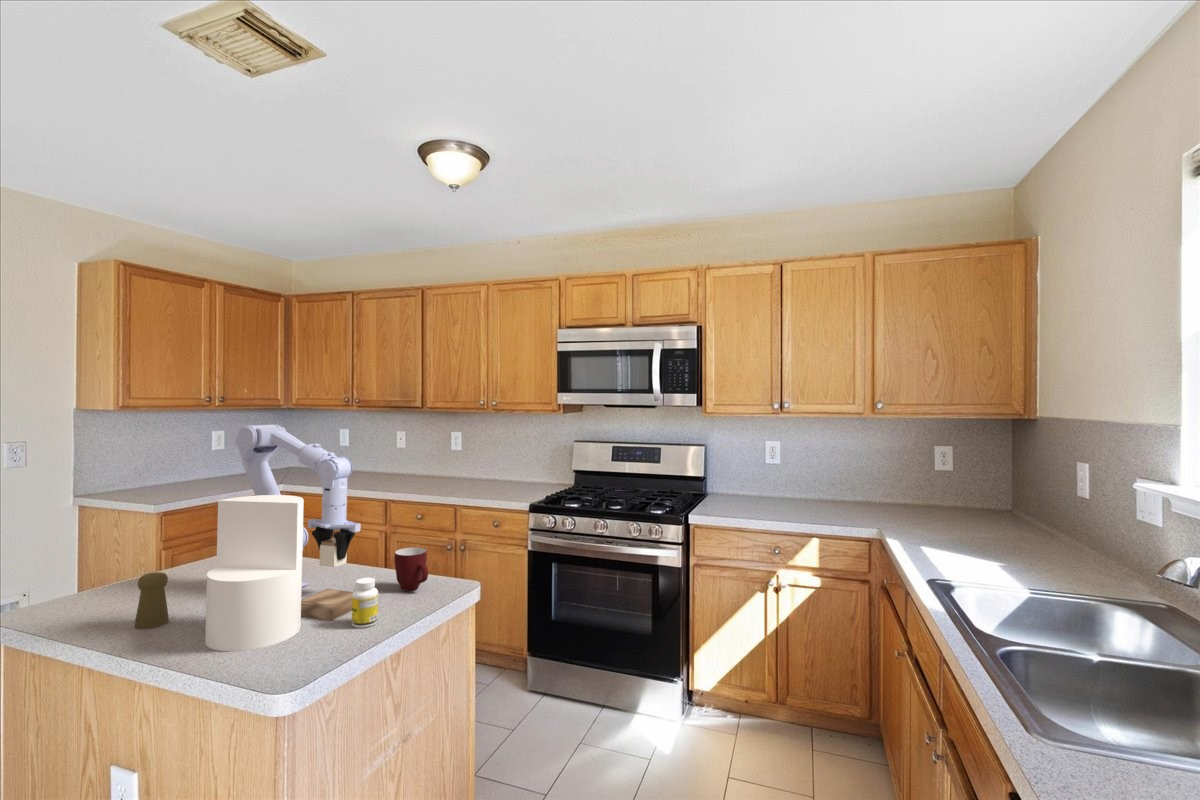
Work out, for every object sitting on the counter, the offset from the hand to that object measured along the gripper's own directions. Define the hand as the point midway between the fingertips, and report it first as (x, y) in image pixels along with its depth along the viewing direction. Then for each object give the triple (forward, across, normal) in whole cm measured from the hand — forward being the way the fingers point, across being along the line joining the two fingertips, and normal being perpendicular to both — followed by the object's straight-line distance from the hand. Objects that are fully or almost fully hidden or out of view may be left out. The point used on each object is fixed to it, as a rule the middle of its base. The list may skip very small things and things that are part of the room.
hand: (333, 557), depth 145 cm
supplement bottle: (+10, +20, -13) cm, 26 cm away
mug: (+10, +17, +10) cm, 22 cm away
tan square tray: (+9, +7, -9) cm, 15 cm away
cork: (+10, -23, -28) cm, 37 cm away
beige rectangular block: (+2, 0, 0) cm, 2 cm away
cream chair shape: (+10, +2, -25) cm, 27 cm away
